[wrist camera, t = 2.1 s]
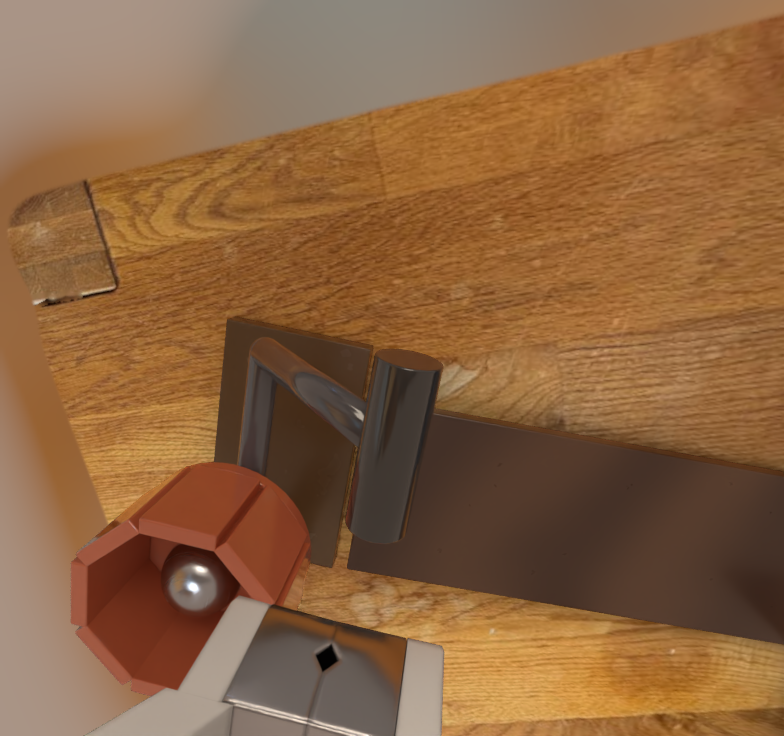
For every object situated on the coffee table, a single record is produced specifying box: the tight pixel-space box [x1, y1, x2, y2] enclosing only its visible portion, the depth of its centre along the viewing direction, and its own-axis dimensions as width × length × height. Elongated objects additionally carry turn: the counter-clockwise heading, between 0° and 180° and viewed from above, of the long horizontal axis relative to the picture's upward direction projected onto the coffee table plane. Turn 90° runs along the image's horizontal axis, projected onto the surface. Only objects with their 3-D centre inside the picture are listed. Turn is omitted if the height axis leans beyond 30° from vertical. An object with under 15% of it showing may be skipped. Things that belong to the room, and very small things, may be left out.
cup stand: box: [214, 317, 373, 568], centre depth 26 cm, size 8×14×10 cm, turn 170°
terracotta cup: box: [71, 337, 443, 696], centre depth 19 cm, size 11×16×7 cm
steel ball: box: [161, 543, 241, 617], centre depth 20 cm, size 3×3×3 cm
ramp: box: [347, 408, 784, 644], centre depth 28 cm, size 26×10×3 cm, turn 80°
